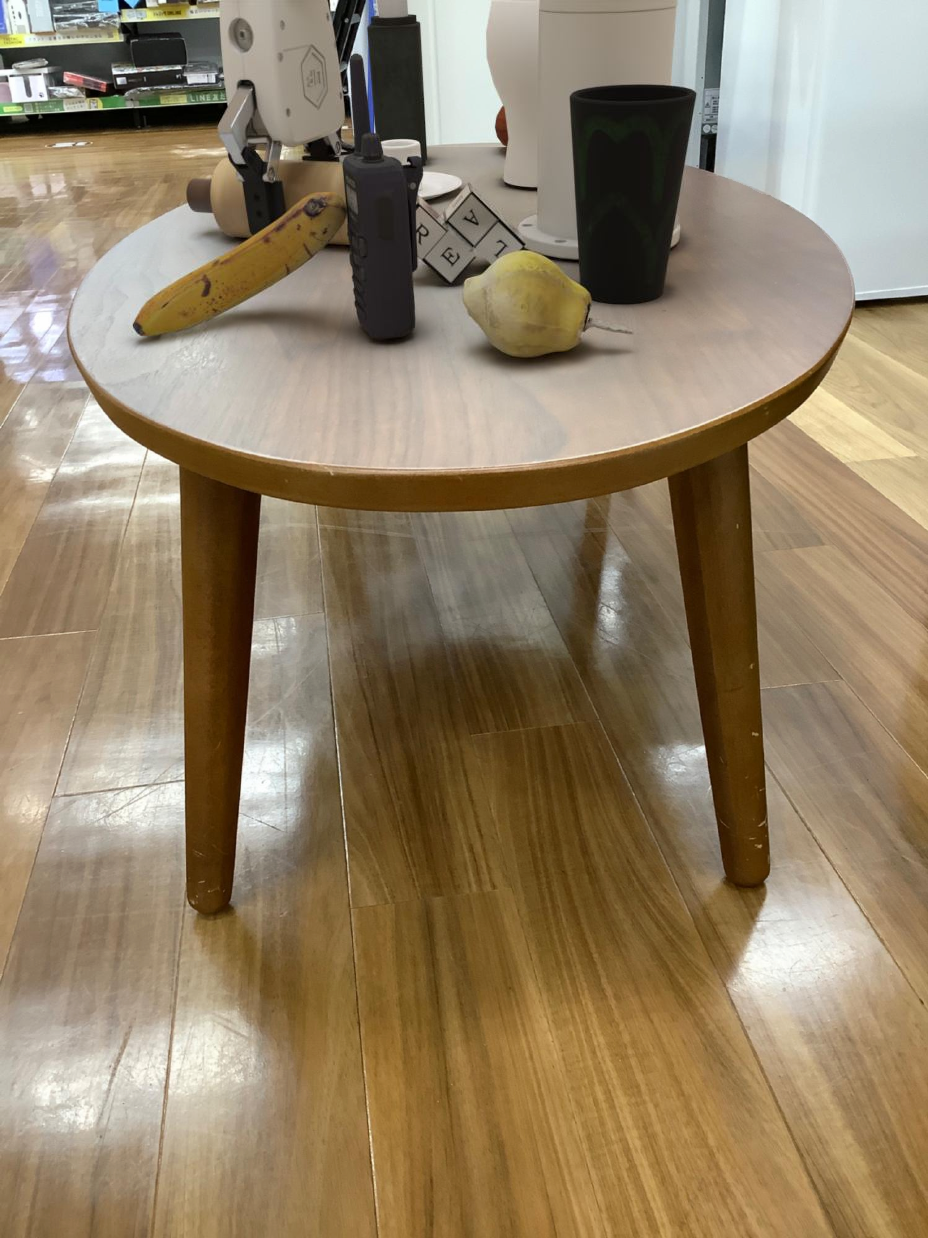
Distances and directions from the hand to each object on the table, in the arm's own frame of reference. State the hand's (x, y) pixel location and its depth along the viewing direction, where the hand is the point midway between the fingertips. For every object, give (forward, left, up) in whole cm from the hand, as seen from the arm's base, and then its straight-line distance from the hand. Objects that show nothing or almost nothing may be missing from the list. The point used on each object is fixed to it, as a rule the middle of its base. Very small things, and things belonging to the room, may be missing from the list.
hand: (298, 220), depth 81 cm
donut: (+22, -36, +4) cm, 43 cm away
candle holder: (+12, -13, -2) cm, 18 cm away
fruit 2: (-32, -6, -2) cm, 33 cm away
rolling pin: (0, 0, -2) cm, 2 cm away
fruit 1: (-20, +9, +4) cm, 22 cm away
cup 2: (+9, -27, -2) cm, 28 cm away
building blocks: (-16, -8, -2) cm, 17 cm away
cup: (-25, -16, -2) cm, 29 cm away
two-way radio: (-25, +1, -2) cm, 25 cm away
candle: (+25, -19, -2) cm, 32 cm away
